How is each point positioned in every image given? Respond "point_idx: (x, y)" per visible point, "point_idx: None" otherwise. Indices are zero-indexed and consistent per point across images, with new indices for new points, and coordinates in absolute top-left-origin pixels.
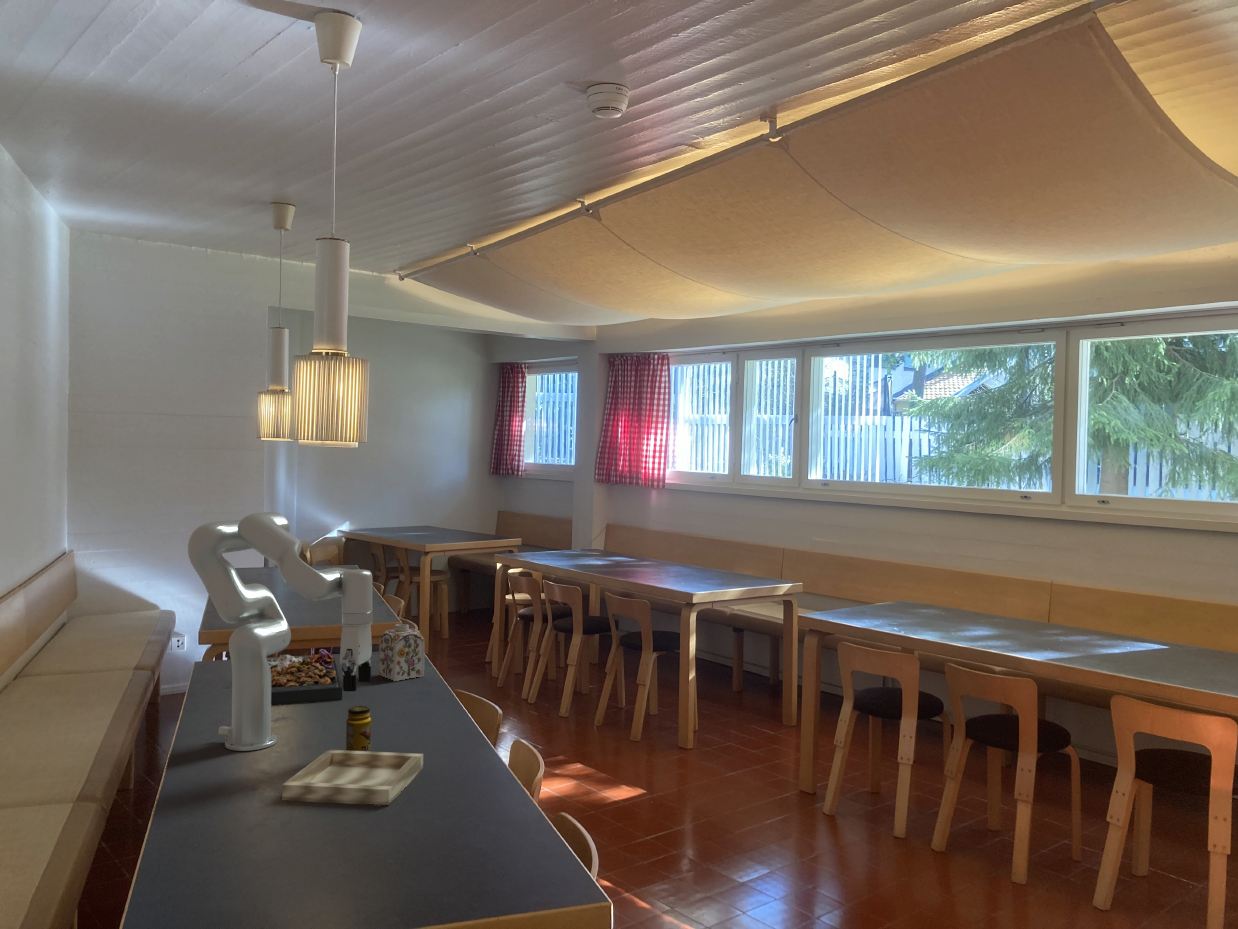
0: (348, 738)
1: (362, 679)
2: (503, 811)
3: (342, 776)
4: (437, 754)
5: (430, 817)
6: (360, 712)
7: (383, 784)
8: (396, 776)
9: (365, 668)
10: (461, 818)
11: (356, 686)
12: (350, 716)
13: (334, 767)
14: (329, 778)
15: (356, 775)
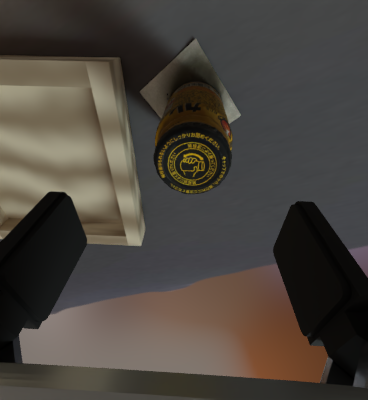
0: (166, 107)
1: (289, 231)
2: (60, 295)
3: (45, 136)
4: (208, 233)
5: None
6: (160, 177)
7: None
8: None
9: (310, 314)
10: None
11: (74, 260)
12: (159, 136)
13: (81, 98)
14: (22, 114)
15: (62, 159)
